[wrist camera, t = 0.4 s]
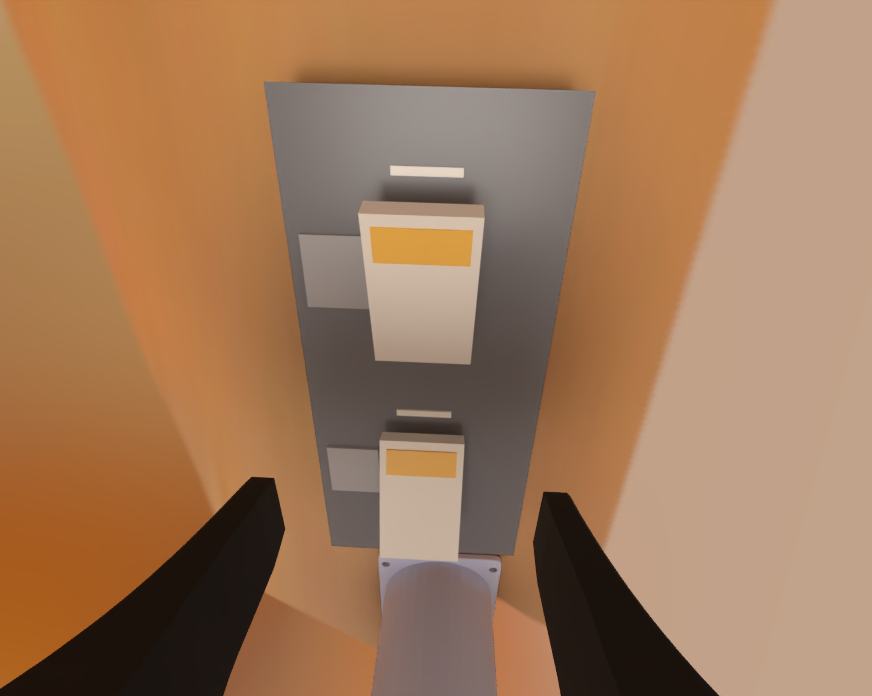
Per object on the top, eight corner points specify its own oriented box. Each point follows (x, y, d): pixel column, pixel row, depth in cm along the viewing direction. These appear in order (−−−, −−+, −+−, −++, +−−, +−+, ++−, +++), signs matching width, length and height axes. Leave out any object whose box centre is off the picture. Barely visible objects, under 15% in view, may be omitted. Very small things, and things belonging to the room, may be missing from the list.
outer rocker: (470, 349, 17) (470, 366, 17) (378, 345, 17) (375, 361, 17) (483, 205, 13) (484, 219, 13) (362, 200, 13) (357, 214, 13)
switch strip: (508, 510, 27) (513, 558, 24) (343, 502, 27) (331, 548, 24) (573, 90, 16) (597, 90, 13) (295, 83, 16) (261, 81, 13)
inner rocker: (457, 549, 21) (457, 562, 20) (382, 545, 21) (379, 558, 20) (463, 435, 20) (464, 445, 19) (382, 431, 20) (379, 441, 19)
